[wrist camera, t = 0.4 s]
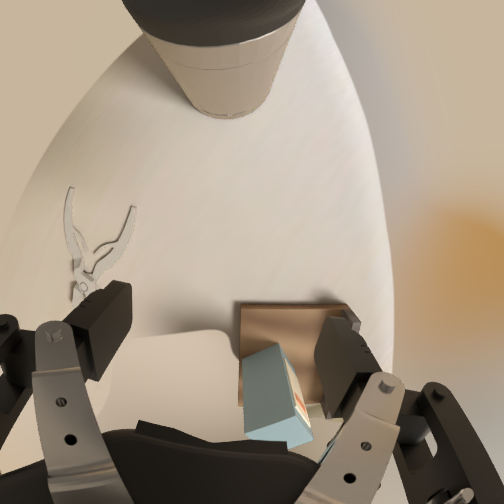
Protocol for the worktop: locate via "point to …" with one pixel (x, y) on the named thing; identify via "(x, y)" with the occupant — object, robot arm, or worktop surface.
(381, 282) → the worktop surface
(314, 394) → the shelf board
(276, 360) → the carton
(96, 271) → the pliers
